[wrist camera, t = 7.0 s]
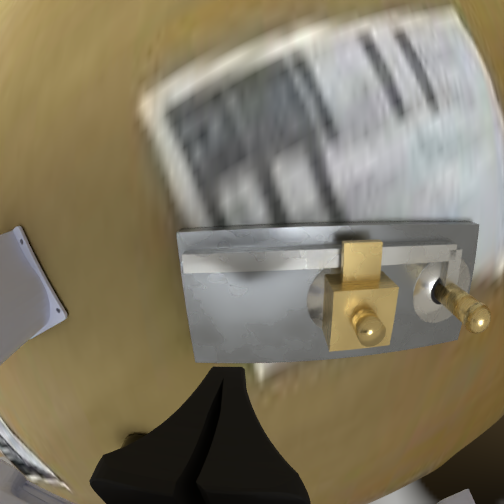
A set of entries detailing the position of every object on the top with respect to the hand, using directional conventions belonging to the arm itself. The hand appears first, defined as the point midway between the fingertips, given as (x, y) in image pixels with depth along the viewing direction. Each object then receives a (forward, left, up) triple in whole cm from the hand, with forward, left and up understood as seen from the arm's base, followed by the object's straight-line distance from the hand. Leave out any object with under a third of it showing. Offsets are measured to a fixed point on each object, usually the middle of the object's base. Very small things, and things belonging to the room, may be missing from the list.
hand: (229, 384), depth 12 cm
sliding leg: (+2, +7, -8) cm, 11 cm away
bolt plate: (+3, +6, -9) cm, 12 cm away
